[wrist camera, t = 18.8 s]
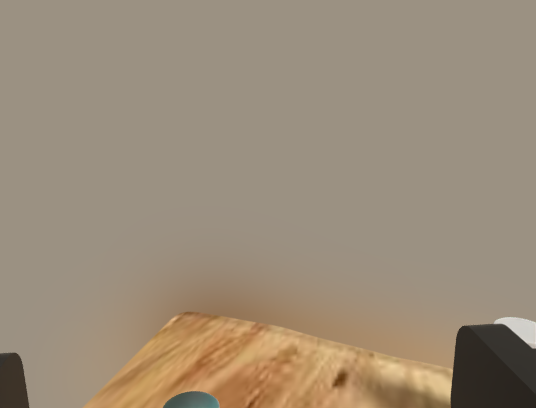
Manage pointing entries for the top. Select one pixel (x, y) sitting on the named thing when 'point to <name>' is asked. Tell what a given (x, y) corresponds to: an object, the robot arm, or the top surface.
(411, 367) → the top surface
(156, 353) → the top surface
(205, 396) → the plug
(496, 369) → the robot arm
